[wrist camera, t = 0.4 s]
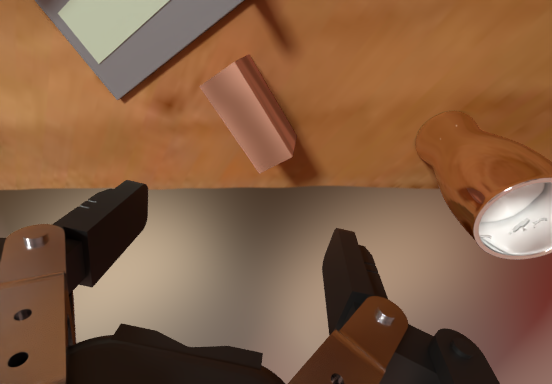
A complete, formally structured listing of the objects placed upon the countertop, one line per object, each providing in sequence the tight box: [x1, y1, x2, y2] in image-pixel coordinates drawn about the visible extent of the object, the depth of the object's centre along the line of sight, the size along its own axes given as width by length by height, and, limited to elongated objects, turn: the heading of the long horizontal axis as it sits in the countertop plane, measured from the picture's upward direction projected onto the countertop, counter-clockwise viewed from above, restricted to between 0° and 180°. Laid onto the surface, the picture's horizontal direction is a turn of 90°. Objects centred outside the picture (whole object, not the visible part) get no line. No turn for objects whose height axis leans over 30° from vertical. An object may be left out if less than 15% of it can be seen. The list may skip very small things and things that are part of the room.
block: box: [199, 55, 297, 173], centre depth 29 cm, size 4×10×6 cm, turn 31°
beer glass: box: [415, 111, 552, 260], centre depth 25 cm, size 7×7×15 cm
